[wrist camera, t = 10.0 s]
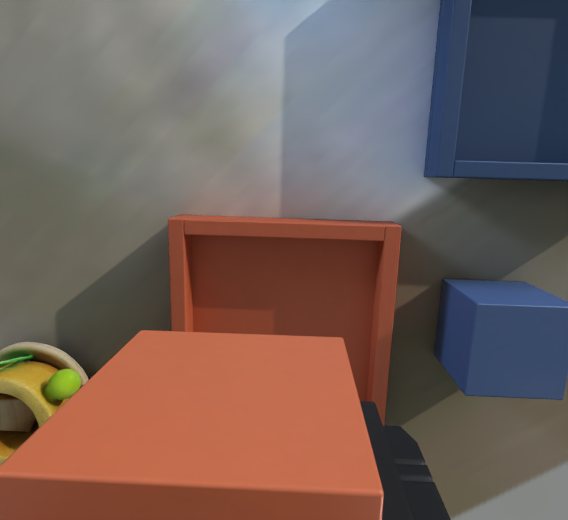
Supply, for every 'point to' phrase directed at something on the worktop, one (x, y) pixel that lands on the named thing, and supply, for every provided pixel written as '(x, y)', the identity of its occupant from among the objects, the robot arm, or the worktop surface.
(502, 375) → the blue block
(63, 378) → the toy tea set
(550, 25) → the blue tray
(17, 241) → the worktop surface
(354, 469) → the terracotta block
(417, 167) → the worktop surface
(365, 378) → the terracotta tray
